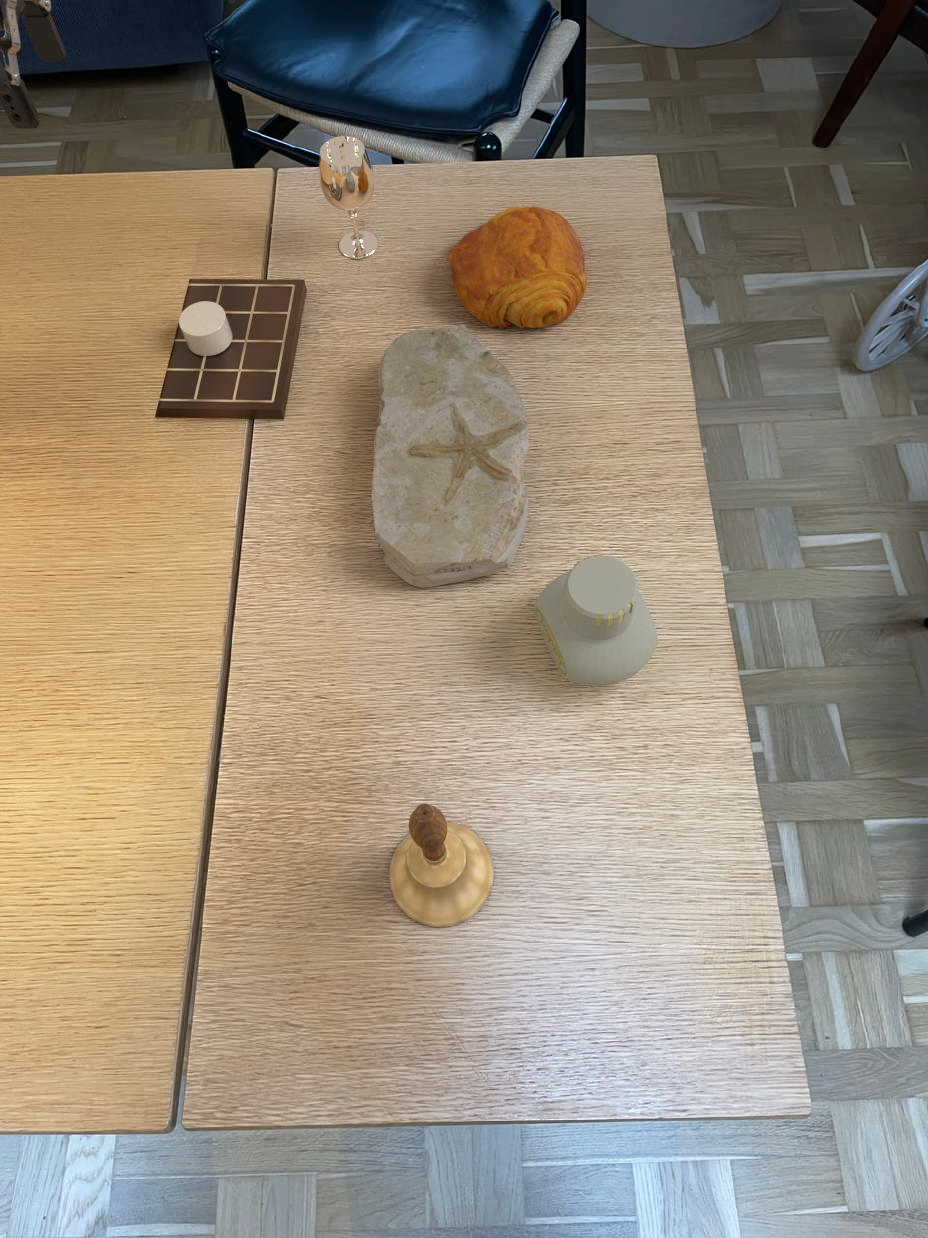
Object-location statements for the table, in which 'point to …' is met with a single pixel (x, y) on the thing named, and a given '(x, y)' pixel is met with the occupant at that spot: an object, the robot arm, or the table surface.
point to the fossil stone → (448, 459)
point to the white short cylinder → (205, 328)
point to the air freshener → (596, 622)
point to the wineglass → (348, 188)
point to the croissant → (520, 269)
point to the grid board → (238, 352)
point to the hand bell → (440, 870)
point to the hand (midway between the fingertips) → (41, 91)
